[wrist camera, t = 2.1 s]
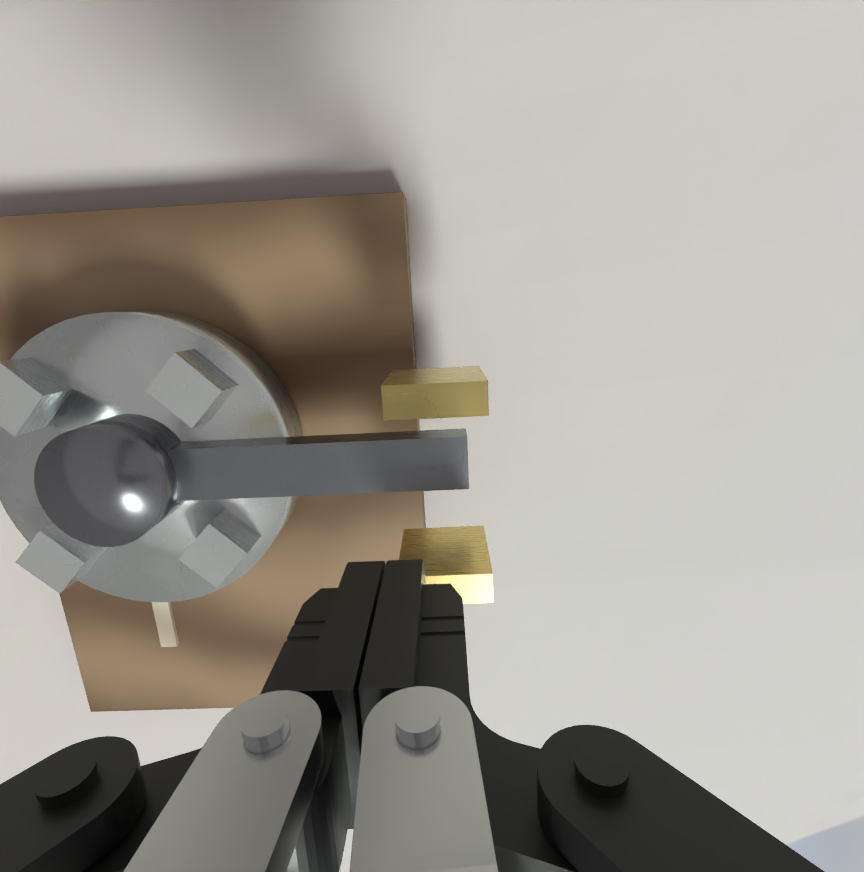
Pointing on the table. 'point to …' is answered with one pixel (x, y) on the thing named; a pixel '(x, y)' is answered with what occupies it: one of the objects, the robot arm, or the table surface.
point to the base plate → (289, 360)
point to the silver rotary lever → (203, 458)
